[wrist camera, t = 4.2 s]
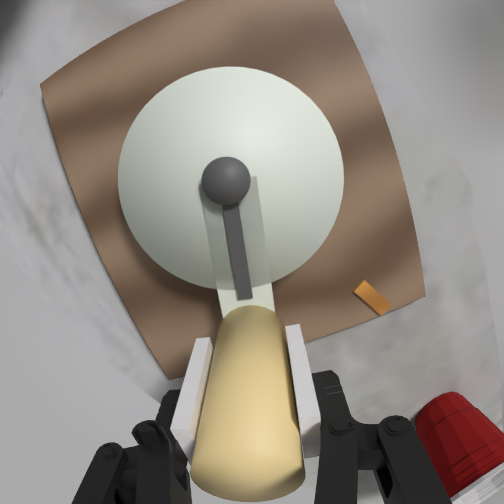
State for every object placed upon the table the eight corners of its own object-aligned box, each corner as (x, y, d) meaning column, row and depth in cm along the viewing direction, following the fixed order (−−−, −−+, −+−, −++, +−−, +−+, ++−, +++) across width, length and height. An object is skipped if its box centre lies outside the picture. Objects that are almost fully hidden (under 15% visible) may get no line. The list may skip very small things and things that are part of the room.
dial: (118, 100, 16) (-31, 62, 5) (319, 65, 15) (405, -45, 4) (172, 350, 21) (119, 492, 10) (343, 331, 20) (403, 476, 9)
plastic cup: (405, 456, 27) (434, 535, 16) (379, 414, 25) (417, 518, 13) (483, 407, 25) (527, 476, 14) (475, 353, 23) (542, 435, 11)
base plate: (47, 86, 17) (38, 84, 15) (310, -27, 14) (313, -36, 13) (171, 371, 23) (168, 381, 22) (419, 290, 21) (426, 297, 20)
